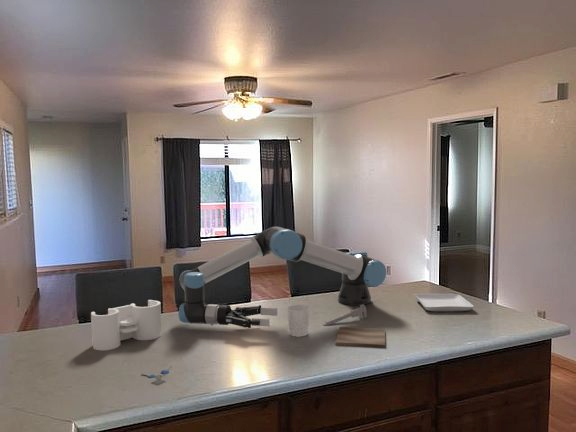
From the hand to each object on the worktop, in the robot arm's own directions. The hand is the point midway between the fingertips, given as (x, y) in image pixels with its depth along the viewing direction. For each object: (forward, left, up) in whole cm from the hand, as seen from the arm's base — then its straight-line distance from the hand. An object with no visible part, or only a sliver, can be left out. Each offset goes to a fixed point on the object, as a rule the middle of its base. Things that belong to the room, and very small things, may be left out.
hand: (273, 317), depth 182 cm
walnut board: (+1, +32, -6) cm, 33 cm away
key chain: (+44, -26, -7) cm, 52 cm away
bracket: (+17, -50, -6) cm, 53 cm away
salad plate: (-47, +66, -6) cm, 82 cm away
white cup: (0, +10, -6) cm, 11 cm away
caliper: (-18, +25, -6) cm, 32 cm away
